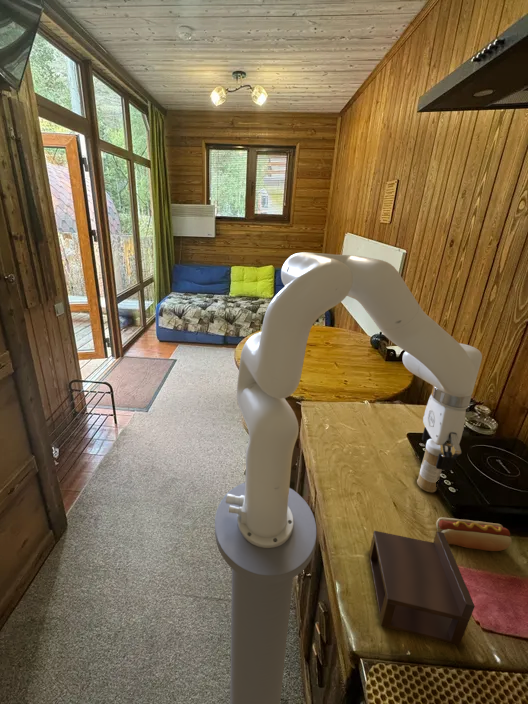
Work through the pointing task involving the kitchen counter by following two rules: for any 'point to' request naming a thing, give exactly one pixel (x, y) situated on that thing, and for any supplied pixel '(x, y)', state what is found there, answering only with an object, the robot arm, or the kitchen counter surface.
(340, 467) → the kitchen counter surface
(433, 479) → the sprinkles bottle
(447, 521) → the food
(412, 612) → the spice rack
